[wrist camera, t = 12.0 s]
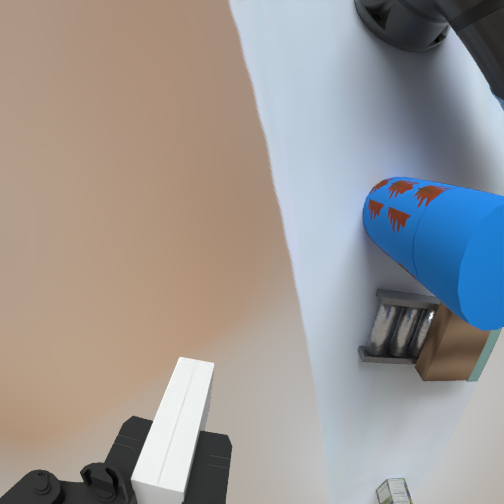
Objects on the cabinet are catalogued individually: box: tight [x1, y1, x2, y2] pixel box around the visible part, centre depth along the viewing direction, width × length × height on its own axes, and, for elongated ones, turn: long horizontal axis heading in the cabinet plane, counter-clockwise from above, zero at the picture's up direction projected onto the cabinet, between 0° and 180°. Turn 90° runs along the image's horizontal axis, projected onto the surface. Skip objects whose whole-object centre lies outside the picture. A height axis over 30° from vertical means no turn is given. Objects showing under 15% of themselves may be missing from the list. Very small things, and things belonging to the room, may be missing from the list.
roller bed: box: [358, 289, 440, 364], centre depth 46 cm, size 11×20×3 cm, turn 81°
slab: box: [415, 301, 491, 381], centre depth 43 cm, size 12×10×4 cm
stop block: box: [466, 328, 502, 382], centre depth 44 cm, size 13×3×7 cm, turn 171°
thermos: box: [363, 177, 504, 331], centre depth 31 cm, size 11×11×25 cm
